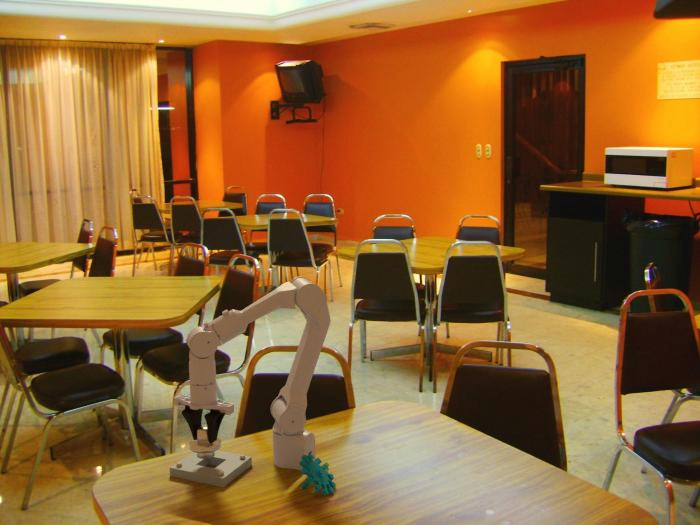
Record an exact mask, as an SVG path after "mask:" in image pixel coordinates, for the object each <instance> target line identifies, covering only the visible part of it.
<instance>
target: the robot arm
mask: <svg viewBox="0 0 700 525" xmlns="http://www.w3.org/2000/svg"><path fill="white" fill-rule="evenodd" d="M296 306H297V308H299V310H300V312H301V314H302V315H303V317H304V319H305V320H306V322H305V325H304V328H303V332H302V335H301V338H300V341H299V343H298V347H297V349H296V353H295V355H294V359H293V362H292V364H291V367H290V371H289V374H288V377H287V380H286V383H285V385H284V386H282V388H281V389H280V390H279V393H278V396H277V397H275V399H274V400H272V402H271V405H270V414H271V416H272V418H274V424H273V426H272V452H273V453H272V455H273V456H272V457H273V465H274V466H276V467H278V468H282V469H293V470H297V471H301V469H302V468H303V467H302V466H300V464H299V463H300V461H302V458H301V457H302V456H304V455H307V456H308V455H309V454H311V455H313V456H314V459H313V461H314V462H315V460H316V459H317V458H316V436H315V434H314V433H313V432H311V431H308V430H307V429H305V426H306V423H307V416H306V411H307V407H308V399H307V397H308V396H307V394H308V391H309V388H310V384H311V381H312V378H313V376H314V373H315V370H316V367H317V364H318V360H319V357H320V355H321V351H322V349H323V346H324V344H325V343H324V342H325V340H326V337H327V334H328V332H329V329H330V325H331V321H332V320H331V315H330V311H329V310H330V309H329V306H328V296H327V295H326V294H325V292H324V291H323V289H322V288H321V287H320V286H319V285H317V284H316V283H314V282H312V281H311V280H310V279H309V278H307V277H306V276H296V277H294V278H293V279H291V281H286V282H284V283H282V284H280V285H279V286H278V287H276V288H275V289H274V290H272V291H270V292H269V293H267V294H266V295H264V296H262V297H261V298H258V300H256V301H255V302H253V303H251V304H249V305H248V306H246V307H244V308H243V309H242V310H238V309H233V308H232V309H230V310H228V309H225V310H223V311H222V312H221V314H222V315H219V316H218V317H216V318H214V319H212V320H211V321H209V322H208V321H205V322H203V323H202V325H203V326H196V327H194V328H192V329H191V330H190V331H189V333H188V334H187V337H186V339H185V342H186V344H187V346H188V348H189V353H188V354H189V355H188V358H189V362H188V371H189V372H188V373H189V395H182V394H178V395H177V396H174V398H173V401H174V402H173V403H174V404H173V405H174V407H179V406H182V407H184V409H183V410H181V415H182V416H183V418H184V419H185V421H186V423H187V425H188V427H189V429H190V430H189V431H190V432H191V436H192V440H197V427H198V426H200V425H202V418H204V419H205V423H206V425H207V428H208V440H209V443H213V442H215V441H216V440H217V438H218V435H219V431H220V427H221V425H222V422H223V420H224V417H225V416H226V415H228V416H230V415H232V414H233V413H235V404H234V403H231V402H228V401H226V400H222V399H221V398H218V396H217V369H216V359H215V353H216V352H217V349H218V347H221V346H223V345H225V344H226V343H228V342H230V341H232V340H234V339H235V338H237V337H239V336H241V335H242V334H244V333H246V331H247V328H248V326H249V324H251V323H252V322H255V321H257V320H258V319H260V318H262V317H265V316H266V315H269V314H270V313H272V312H274V311H276V310H278V309H281V308H282V309H290V310H296ZM204 410H206V411H209V412H207V413H206V414H204V417H203V411H204Z"/></svg>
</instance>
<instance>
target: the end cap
mask: <svg viewBox="0 0 700 525" xmlns="http://www.w3.org/2000/svg"><path fill="white" fill-rule="evenodd" d="M188 444H189V445H188V446H189V450H190V451H191V453H192V452H195V453H197V457H198V458H200V459H208V458H212V457H213V456H214V455H215V451H217V450H220V449H221V447H222V440H221V438H219V437H217V440H216V441H215V442H213V443H209V440H208V428H207V424H201V425H200V426H198V427H197V440H193V439H192V440H191V441H190V442H189V443H188Z"/></svg>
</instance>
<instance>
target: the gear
mask: <svg viewBox="0 0 700 525" xmlns="http://www.w3.org/2000/svg"><path fill="white" fill-rule="evenodd" d="M301 458H302V461H300V463H299V464H300V466H302V467H303V468H302V469H301V470H300V472H301V474H302V476H307V478H306V479H305V482H304V483H302V484H301V485H300V488H301V490H305V489H306V488H308V486H310V485H311V484H312V483H314V484H315V485H314V486H313V490H314V491H316V492H319V491H320V490H321V488H322V490H321V491H320V492H321V494H322V495H324V496H327V495H330V494H333V493H334V492H335V489H334V488H336V487H337V484H336V482H334V481H333V480H334V479H335V478H334V474H332V473H329V469H330V468H329V466H330V464H329V463H328V462H324V463H323V462H322V459H320V457H317V458H316V460H315V462H314V461H313V459H314V456H313V455H311V454H309V455H308V456H307V455H304V456H302V457H301ZM321 463H323V464H322V465H320V464H321Z"/></svg>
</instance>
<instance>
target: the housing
mask: <svg viewBox="0 0 700 525" xmlns="http://www.w3.org/2000/svg"><path fill="white" fill-rule="evenodd" d="M252 458H253V456H249V455H245V454H239V453H233V452H230V451H228V452H227V451H223V450H220V449H218V450H217V451H215V455H214V456H213V457H212V458H208V459H200V458H198V457H197V453H195V452H192V451H191V452H190V454H188V455H187V456H185V457H183V458H182V459H180V460H178V461H177V462H176V463H174V464H172V465H171V466H170V467H169V476H170V477H172V478H178V479H182V480H186V481H192V482H196V483H201V484H206V485H210V486H215V487H219V488H225V487H226V486H227V485H228V484H230V483H231V482H232V481H233V480H235V479H236V478H237V477H239V476H241V474H243V473H244V472H245V471H247V470H248V469H249V468H251V467H252V466H253V460H252ZM208 465H210V466H214V467H215V468H214V467H210V466H208Z"/></svg>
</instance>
